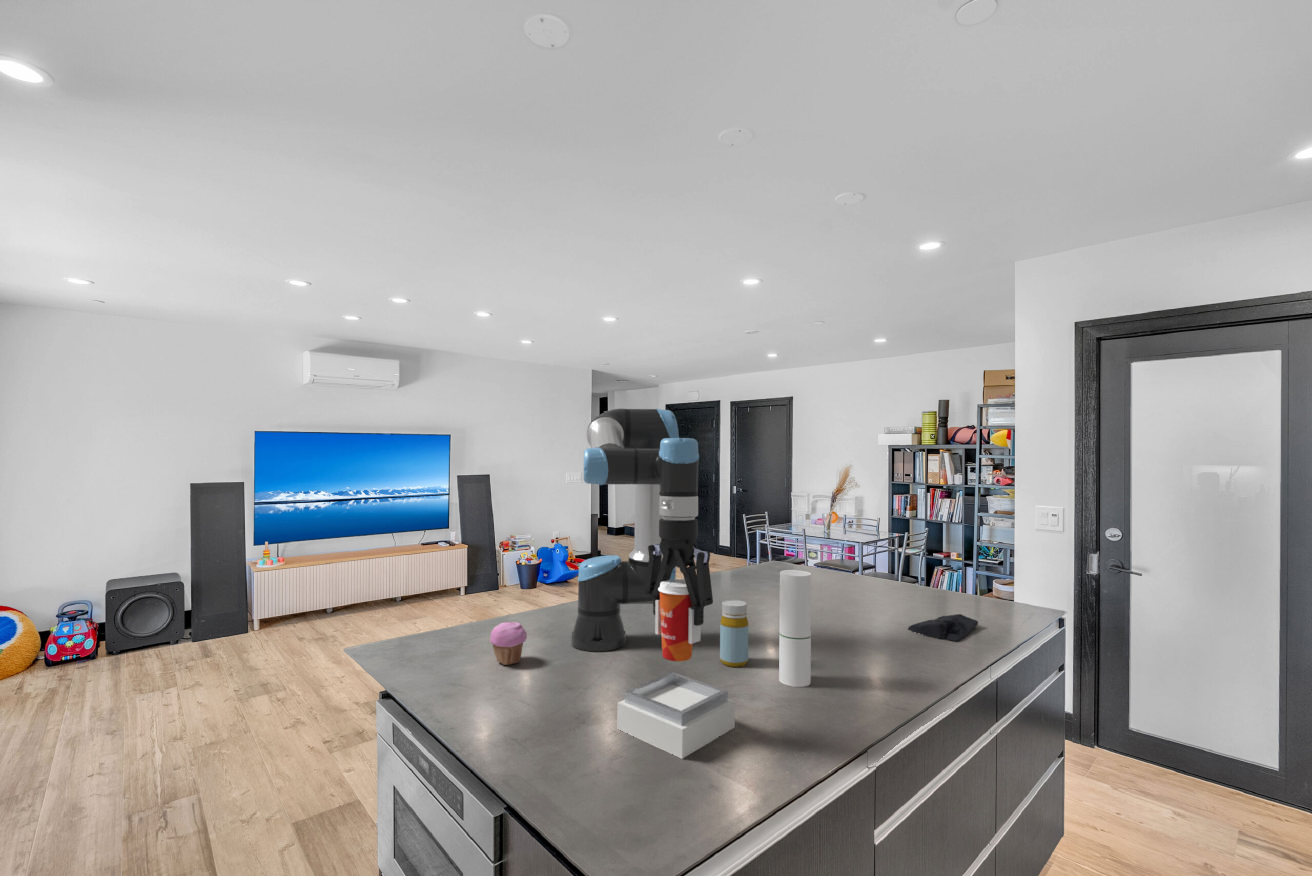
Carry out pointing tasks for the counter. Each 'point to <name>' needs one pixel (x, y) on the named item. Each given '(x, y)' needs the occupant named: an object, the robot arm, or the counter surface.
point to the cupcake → (508, 642)
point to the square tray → (676, 713)
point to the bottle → (734, 633)
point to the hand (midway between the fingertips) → (677, 636)
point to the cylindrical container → (795, 628)
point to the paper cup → (675, 620)
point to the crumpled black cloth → (946, 627)
